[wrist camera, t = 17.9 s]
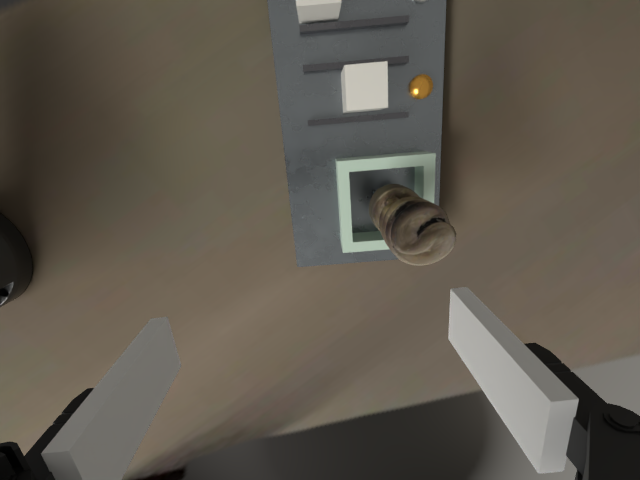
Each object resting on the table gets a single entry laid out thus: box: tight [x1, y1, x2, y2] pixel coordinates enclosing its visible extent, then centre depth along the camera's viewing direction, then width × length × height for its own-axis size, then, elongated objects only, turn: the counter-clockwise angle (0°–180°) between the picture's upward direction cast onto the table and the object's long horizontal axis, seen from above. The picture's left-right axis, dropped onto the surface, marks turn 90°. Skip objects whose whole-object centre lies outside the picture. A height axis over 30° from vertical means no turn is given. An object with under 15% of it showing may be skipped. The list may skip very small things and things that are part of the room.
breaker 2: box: [341, 61, 388, 113], centre depth 34 cm, size 4×4×5 cm
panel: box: [267, 0, 446, 267], centre depth 37 cm, size 18×32×2 cm, turn 5°
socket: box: [335, 151, 436, 253], centre depth 38 cm, size 10×10×4 cm
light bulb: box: [369, 184, 456, 265], centre depth 33 cm, size 6×6×15 cm
